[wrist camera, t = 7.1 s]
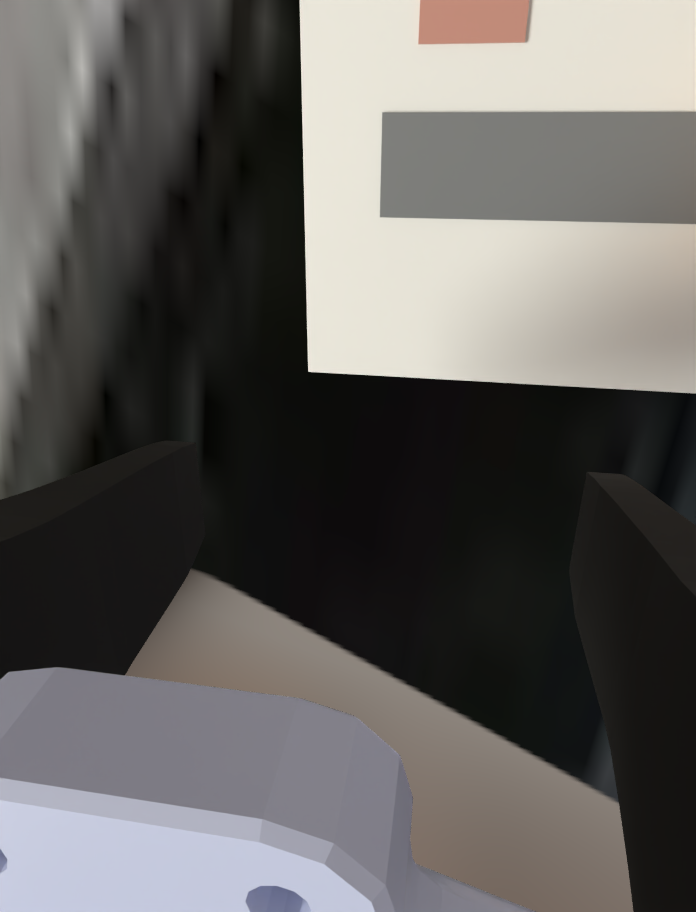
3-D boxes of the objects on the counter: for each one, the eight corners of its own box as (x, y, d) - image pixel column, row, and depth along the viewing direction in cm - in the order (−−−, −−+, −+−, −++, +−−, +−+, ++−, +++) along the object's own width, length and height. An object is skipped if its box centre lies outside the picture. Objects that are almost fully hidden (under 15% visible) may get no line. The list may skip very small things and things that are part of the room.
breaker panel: (875, 380, 19) (920, 407, 17) (321, 351, 21) (307, 372, 19) (1057, -115, 14) (1148, -154, 12) (315, -82, 16) (296, -110, 14)
